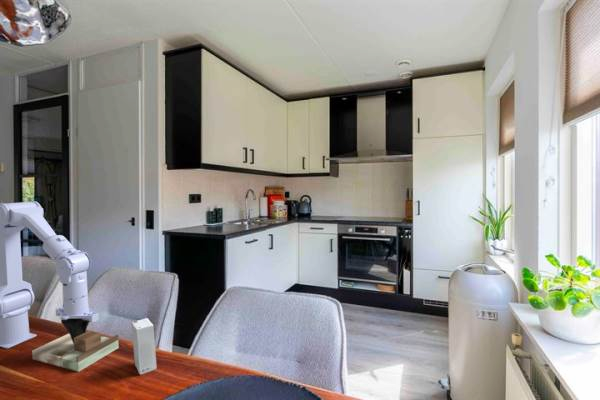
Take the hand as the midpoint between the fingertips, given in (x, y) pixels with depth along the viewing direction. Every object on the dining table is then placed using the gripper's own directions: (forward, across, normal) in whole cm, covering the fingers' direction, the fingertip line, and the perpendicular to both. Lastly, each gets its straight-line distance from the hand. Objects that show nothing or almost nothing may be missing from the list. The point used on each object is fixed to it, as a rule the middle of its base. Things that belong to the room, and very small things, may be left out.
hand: (78, 342), depth 90 cm
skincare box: (+4, +23, +1) cm, 23 cm away
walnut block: (+1, +4, 0) cm, 4 cm away
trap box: (+3, -1, 0) cm, 4 cm away
